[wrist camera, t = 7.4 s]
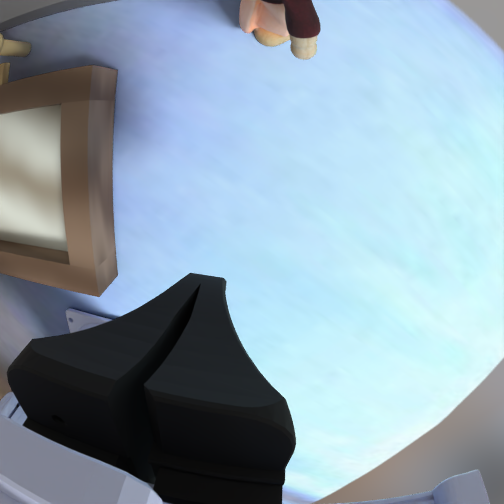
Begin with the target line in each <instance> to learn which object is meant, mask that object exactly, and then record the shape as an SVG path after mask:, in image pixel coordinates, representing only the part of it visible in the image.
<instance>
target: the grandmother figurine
mask: <svg viewBox="0 0 504 504" xmlns="http://www.w3.org/2000/svg"><path fill="white" fill-rule="evenodd" d="M239 24H240V27H241V29H242V30H243V31H244V32H245V33H250V32H252V31H253V30H254V34H255V37H256V39H257V40H258V41H259V42H260V43H261V44H263V45H265V46H270V47H273V46H277V45H280V44H282V43H284V42H286V41H288V40H291V51H292V53H293V55H294V56H295V57H297V58H299V59H303V60H305V59H310V58H312V57H313V56H314V55H315V54H316V51H317V45H316V41H317V35H318V34H319V32H320V22H319V18H318V16H317V13H316V11H315V8H314V6H313V3H312V0H241V3H240V12H239Z"/></svg>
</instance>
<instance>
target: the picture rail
mask: <svg viewBox="0 0 504 504" xmlns="http://www.w3.org/2000/svg"><path fill="white" fill-rule="evenodd" d="M111 1H117V0H0V32H1V31H4V30H6V29H9V28H12V27H14V26H17V25H20V24H23V23H26V22H29V21H32V20H35V19H38V18H41V17H45V16H48V15H52V14H55V13H59V12H63V11H67V10H71V9H75V8H79V7H84V6H89V5H94V4H99V3H105V2H111ZM30 50H31V44H30V43H29V42H22V41H14V40H6V39H4V38H3V35H2V34H1V33H0V55H2V56H17V57H26V56H27V55H28V54H29V52H30Z"/></svg>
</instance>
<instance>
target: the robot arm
mask: <svg viewBox="0 0 504 504" xmlns="http://www.w3.org/2000/svg"><path fill="white" fill-rule="evenodd" d="M225 290H226V280H225V279H224V278H220V277H214V276H207V275H201V274H195V273H189V274H188V275H187V276H185V277H184V278H182V279H181V280H180V281H178V282H177V283H176V284H174V285H173V286H171V287H170V288H169V289H167V290H166V291H164V292H163V293H162V294H160V295H159V296H157V297H155V298H154V299H152V300H151V301H149V302H147V303H146V304H144V305H142V306H141V307H139V308H137V309H135V310H133V311H131V312H129V313H127V314H125V315H123V316H121V317H119V318H116V319H114V320H111V319H108V318H104V317H100V316H96V315H92V314H89V313H85V312H81V311H78V310H74V309H71V308H69V309H67V311H66V318H67V322H68V326H69V330H70V333H69V334H64V335H59V336H52V337H45V338H38V339H32V340H31V341H30V342H29V344H28V345H27V346H26V347H25V348H24V349H23V351H22V352H21V353H20V354H19V355H18V357H17V358H16V359H15V360H14V362H13V363H12V364H11V365H10V366H9V368H8V371H7V376H8V382H9V385H10V387H11V389H12V392H8V393H7V394H6V395H5V396H4V397H3V398H2V399H1V401H0V504H282V485H283V484H284V482H285V468H286V466H287V464H288V462H289V460H290V458H291V456H292V454H293V453H294V450H295V445H296V437H295V431H294V425H293V421H292V417H291V414H290V411H289V408H288V405H287V402H286V399H285V398H284V397H283V396H282V395H281V394H280V393H279V392H278V391H277V390H276V389H274V388H273V387H272V386H271V384H270V383H269V382H268V381H267V380H266V379H265V378H264V376H263V375H262V374H261V373H260V371H259V370H258V369H257V367H256V366H255V364H254V363H253V361H252V360H251V359H250V357H249V356H248V354H247V353H246V351H245V349H244V347H243V345H242V344H241V342H240V340H239V337H238V335H237V333H236V331H235V328H234V326H233V323H232V320H231V317H230V314H229V310H228V306H227V302H226V295H225ZM337 504H490V501H489V498H488V495H487V493H486V489H485V486H484V483H483V480H482V477H481V474H480V471H479V470H473V471H470V472H467V473H463V474H459V475H455V476H452V477H449V478H447V479H446V480H444V481H442V482H441V483H440V484H438V485H437V486H436V487H435V488H434V489H433V490H432V491H427V492H423V493H418V494H412V495H407V496H401V497H395V498H389V499H381V500H373V501H364V502H352V503H337Z"/></svg>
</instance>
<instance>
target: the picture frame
mask: <svg viewBox="0 0 504 504" xmlns="http://www.w3.org/2000/svg"><path fill="white" fill-rule="evenodd" d="M9 68H10V63H2V64H0V273H2V274H6V275H9V276H13V277H17V278H21V279H24V280H28V281H32V282H36V283H40V284H44V285H48V286H52V287H57V288H61V289H65V290H70V291H74V292H78V293H83V294H87V295H92V296H97V297H100V296H101V294H102V293H103V292H104V291H105V290H106V289H107V287H108V286H109V285H110V284H111V283H112V282H113V280H114V279H115V278H116V277H117V276H118V270H117V260H116V248H115V234H114V216H113V180H112V159H113V124H114V107H115V93H116V82H117V72H118V70H115V69H111V68H106V67H101V66H96V65H89V66H82V67H76V68H70V69H64V70H59V71H54V72H49V73H45V74H40V75H36V76H32V77H28V78H24V79H20V80H16V81H12V82H9V83H8V77H9Z"/></svg>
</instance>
